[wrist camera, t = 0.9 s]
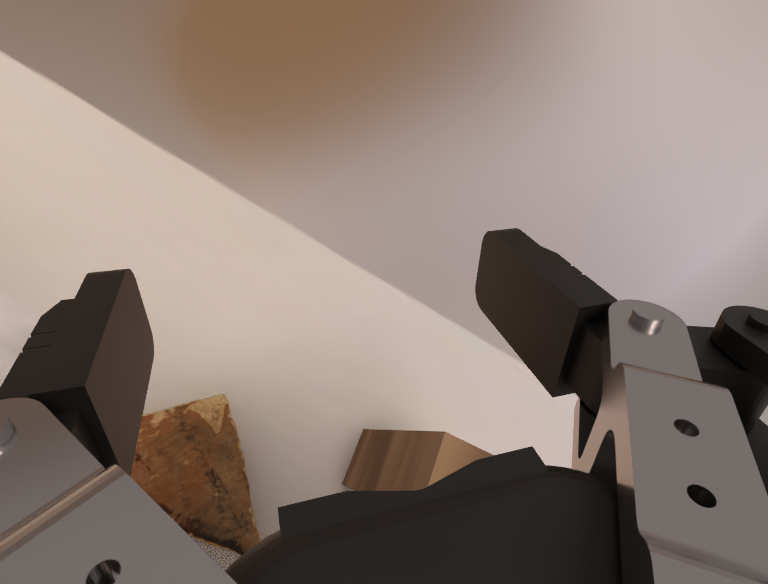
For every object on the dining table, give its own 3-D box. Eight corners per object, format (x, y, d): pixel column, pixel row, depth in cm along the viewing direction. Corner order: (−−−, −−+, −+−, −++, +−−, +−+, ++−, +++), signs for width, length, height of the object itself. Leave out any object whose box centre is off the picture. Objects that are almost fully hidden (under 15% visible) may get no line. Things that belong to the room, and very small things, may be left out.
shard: (261, 559, 30) (266, 566, 28) (128, 614, 27) (124, 626, 25) (227, 392, 32) (230, 390, 30) (98, 425, 28) (93, 425, 27)
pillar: (342, 484, 32) (419, 513, 22) (363, 429, 34) (445, 431, 23) (390, 504, 33) (486, 543, 23) (409, 450, 35) (507, 462, 24)
